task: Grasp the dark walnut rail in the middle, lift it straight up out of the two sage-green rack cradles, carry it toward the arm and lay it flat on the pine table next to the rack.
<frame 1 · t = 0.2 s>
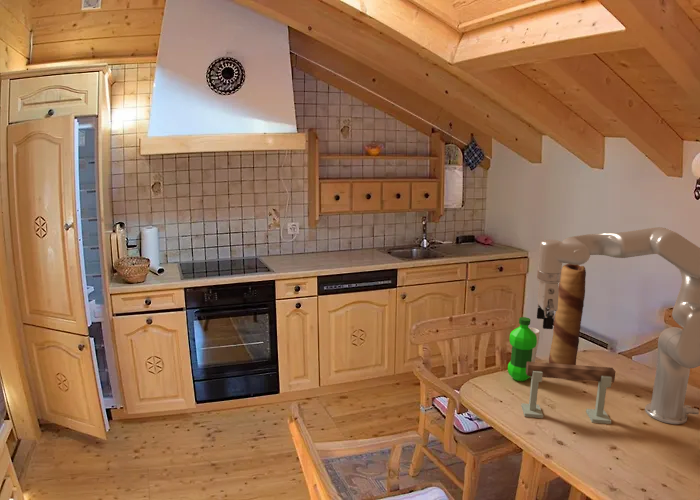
hand: (544, 323, 180), 31 cm above the table, fingers open, 9 cm apart
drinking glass: (528, 363, 220), on the table
plastic bottle: (519, 378, 207), on the table
wafer roll: (561, 373, 212), on the table
walnut rail: (569, 377, 177), point 14 cm above the table, touching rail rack
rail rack: (564, 414, 180), on the table
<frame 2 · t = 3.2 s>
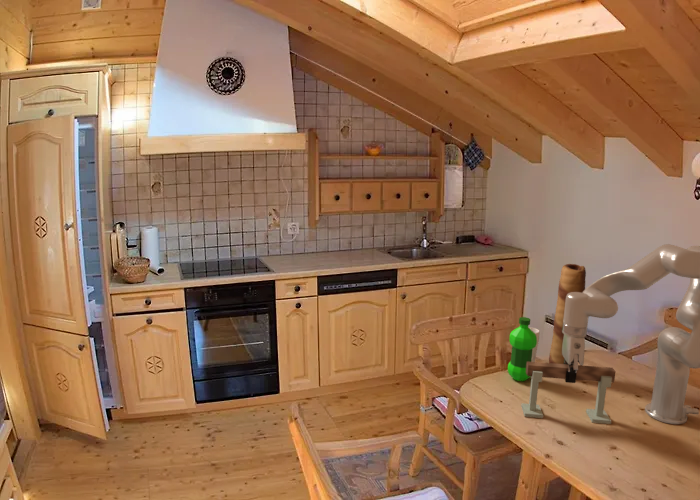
hand: (568, 379, 177), 13 cm above the table, fingers closed on walnut rail, 3 cm apart
walnut rail: (569, 377, 177), point 14 cm above the table, touching gripper, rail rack
everything else where it was.
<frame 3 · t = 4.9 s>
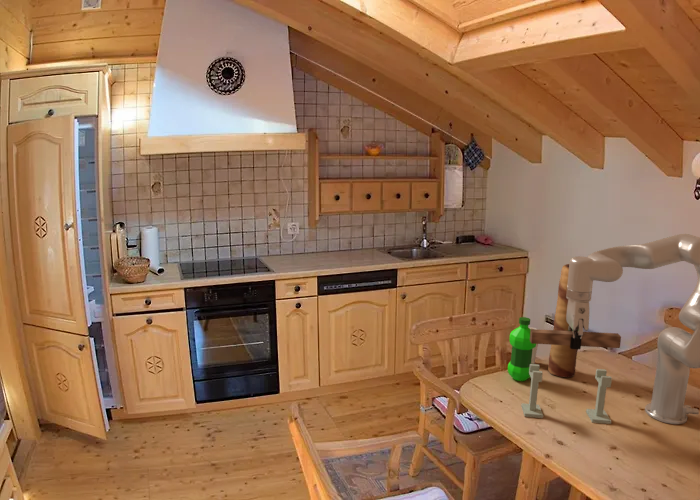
hand: (573, 346, 174), 26 cm above the table, fingers closed on walnut rail, 3 cm apart
walnut rail: (573, 344, 174), point 26 cm above the table, touching gripper
everything else where it was.
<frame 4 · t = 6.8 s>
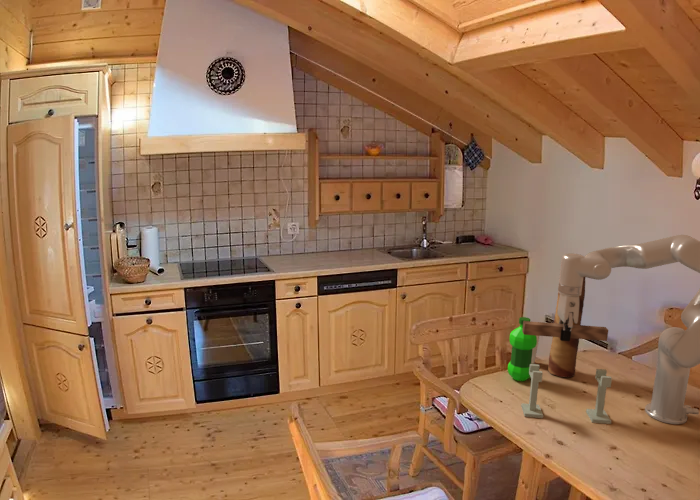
hand: (563, 338, 184), 24 cm above the table, fingers closed on walnut rail, 3 cm apart
walnut rail: (563, 336, 184), point 25 cm above the table, touching gripper
everything else where it was.
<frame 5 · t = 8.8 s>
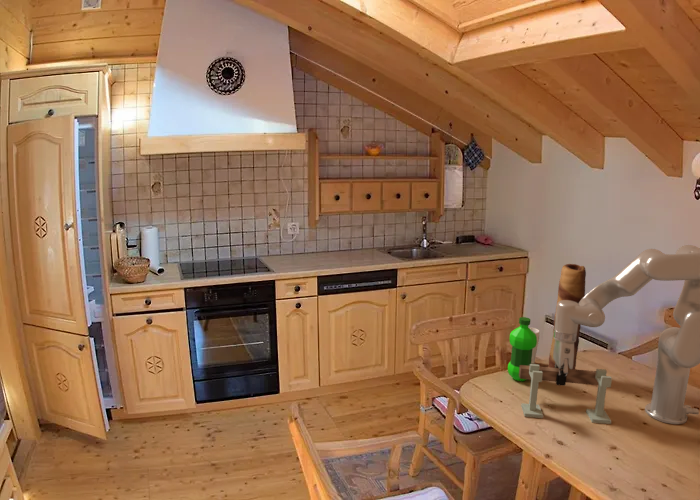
hand: (559, 382, 188), 7 cm above the table, fingers closed on walnut rail, 3 cm apart
walnut rail: (559, 380, 188), point 8 cm above the table, touching gripper
everything else where it was.
when the fingers open (1 cm above the table, at t = 10.3 s): walnut rail drops 2 cm, on the table.
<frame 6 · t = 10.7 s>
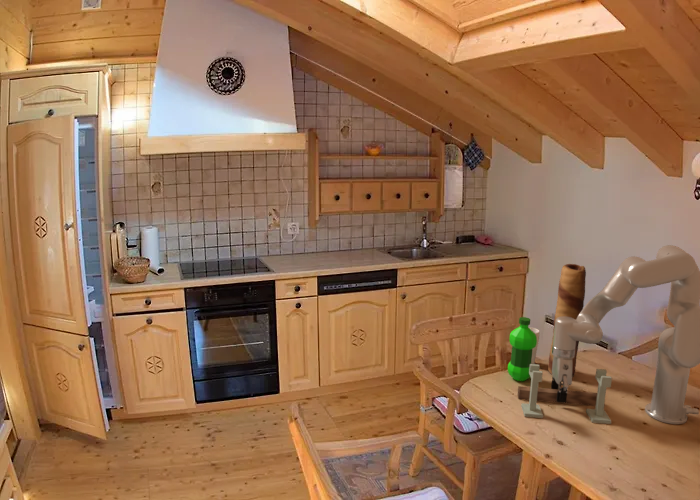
hand: (558, 395, 189), 2 cm above the table, fingers open, 7 cm apart
walnut rail: (557, 401, 190), on the table
everything else where it was.
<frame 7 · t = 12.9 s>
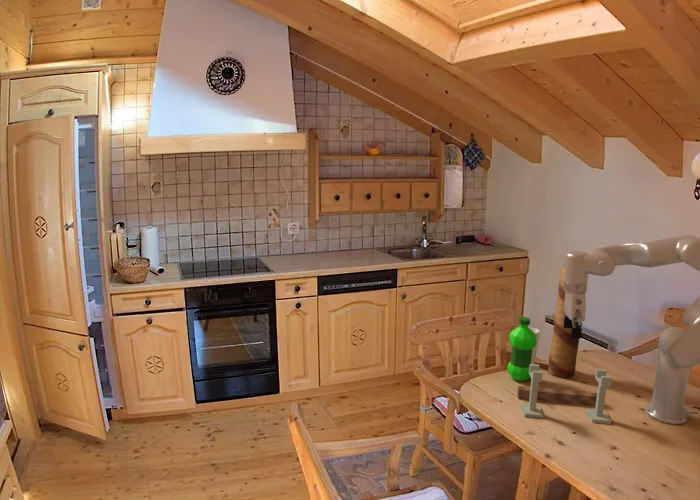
hand: (572, 333, 184), 26 cm above the table, fingers open, 9 cm apart
nothing on the table moved.
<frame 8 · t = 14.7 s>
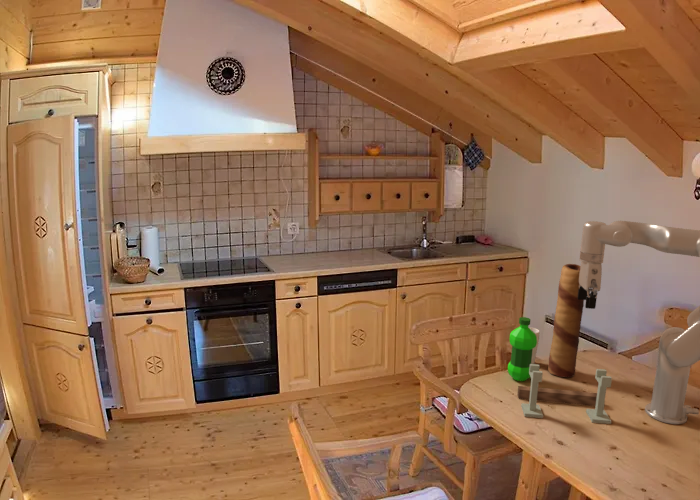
hand: (586, 303, 184), 36 cm above the table, fingers open, 9 cm apart
nothing on the table moved.
at the end: walnut rail inside the target area (0.1 cm from its centre), on the table; walnut rail tilted 0°; the gripper is holding nothing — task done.
